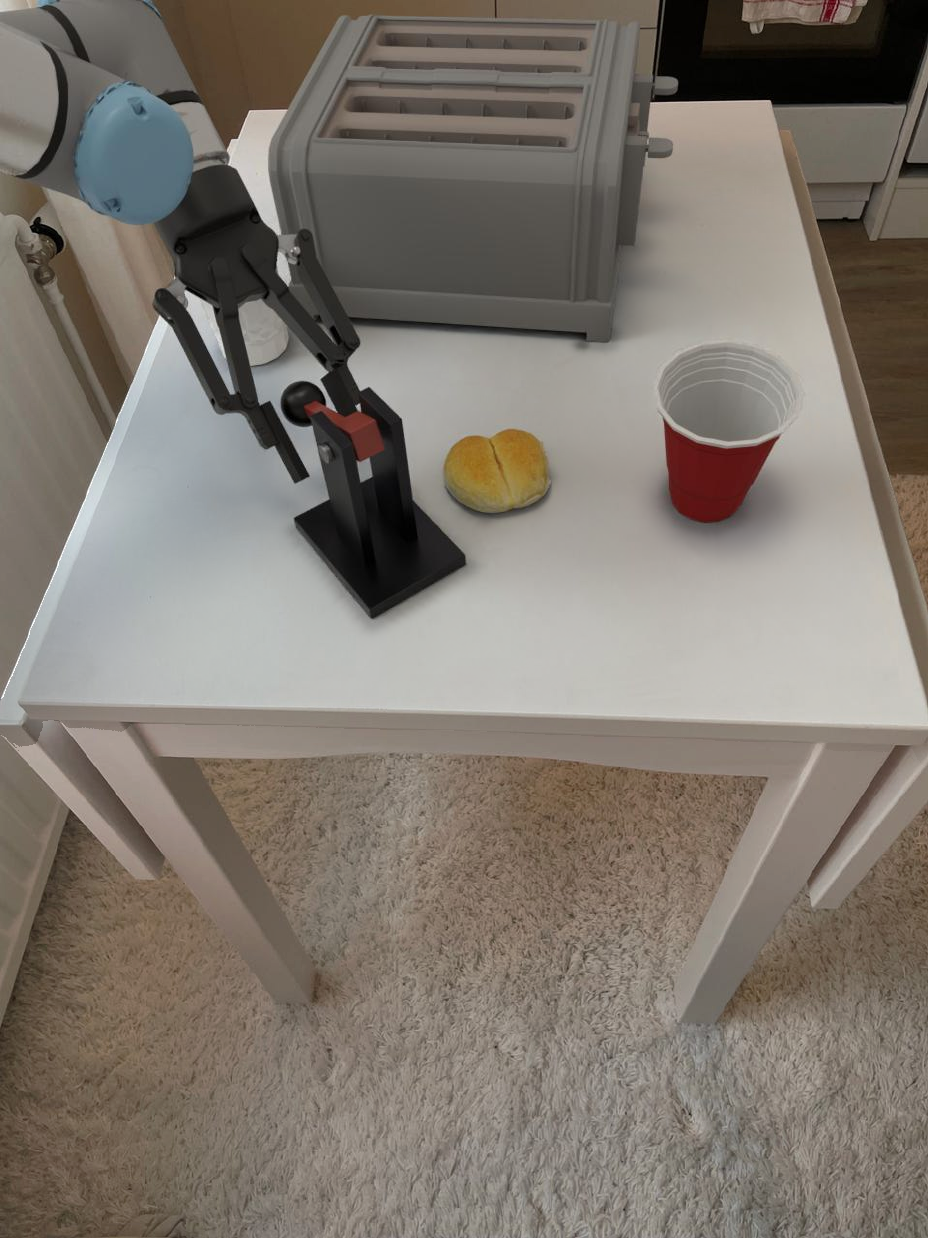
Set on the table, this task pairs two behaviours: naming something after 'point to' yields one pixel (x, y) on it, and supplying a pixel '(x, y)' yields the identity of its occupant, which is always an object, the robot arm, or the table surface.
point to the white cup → (256, 331)
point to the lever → (331, 418)
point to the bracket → (374, 517)
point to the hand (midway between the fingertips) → (334, 463)
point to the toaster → (469, 168)
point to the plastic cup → (722, 421)
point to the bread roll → (497, 471)
